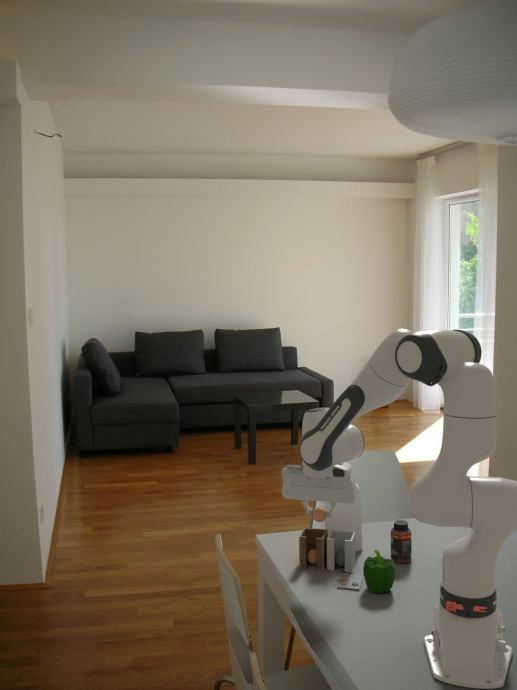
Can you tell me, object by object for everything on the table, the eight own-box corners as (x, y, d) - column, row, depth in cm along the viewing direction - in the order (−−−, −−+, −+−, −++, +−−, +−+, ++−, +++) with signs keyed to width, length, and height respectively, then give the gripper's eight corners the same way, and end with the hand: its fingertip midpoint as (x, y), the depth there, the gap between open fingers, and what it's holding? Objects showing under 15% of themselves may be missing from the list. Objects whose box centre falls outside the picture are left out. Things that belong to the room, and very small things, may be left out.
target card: (359, 590, 185) (359, 588, 185) (336, 588, 187) (336, 586, 187) (363, 577, 193) (363, 575, 193) (341, 575, 194) (341, 573, 194)
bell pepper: (394, 598, 181) (394, 560, 179) (362, 595, 183) (361, 558, 181) (396, 583, 189) (396, 547, 188) (365, 581, 191) (365, 545, 190)
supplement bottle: (415, 559, 204) (415, 521, 202) (404, 566, 199) (404, 527, 198) (397, 553, 208) (397, 516, 207) (386, 560, 204) (386, 522, 202)
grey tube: (352, 572, 196) (351, 541, 195) (327, 569, 198) (326, 539, 197) (355, 562, 203) (355, 531, 202) (331, 559, 205) (331, 529, 204)
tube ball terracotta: (319, 566, 200) (319, 553, 200) (305, 565, 201) (305, 551, 201) (322, 561, 204) (321, 547, 204) (308, 559, 205) (308, 546, 205)
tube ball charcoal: (347, 569, 198) (347, 555, 197) (333, 568, 199) (333, 554, 199) (349, 563, 202) (349, 550, 201) (335, 562, 203) (335, 549, 202)
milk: (319, 536, 222) (318, 456, 219) (355, 535, 223) (355, 455, 220) (324, 552, 210) (323, 467, 207) (362, 550, 211) (362, 466, 208)
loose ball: (325, 525, 190) (325, 510, 189) (310, 523, 191) (310, 509, 190) (328, 519, 194) (328, 505, 193) (313, 518, 195) (313, 504, 194)
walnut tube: (323, 569, 198) (323, 538, 197) (299, 567, 200) (298, 536, 199) (328, 559, 205) (327, 529, 204) (304, 557, 207) (304, 527, 206)
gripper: (278, 467, 190) (279, 516, 192) (354, 472, 185) (354, 522, 186) (284, 461, 196) (285, 508, 198) (357, 465, 191) (358, 514, 192)
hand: (319, 515), depth 192 cm, fingers closed on loose ball, 4 cm apart
